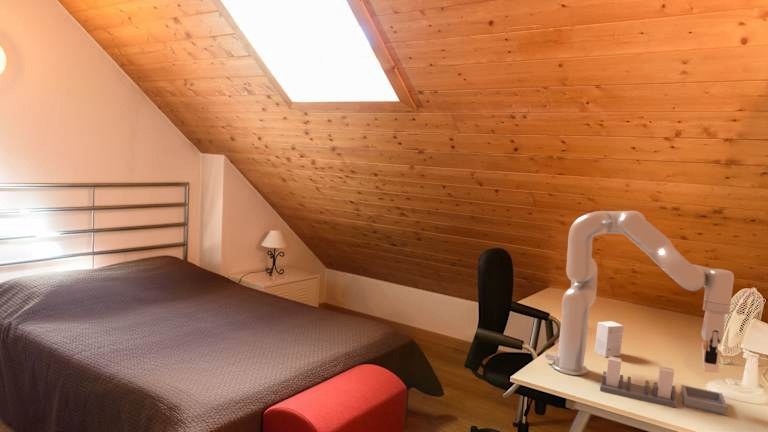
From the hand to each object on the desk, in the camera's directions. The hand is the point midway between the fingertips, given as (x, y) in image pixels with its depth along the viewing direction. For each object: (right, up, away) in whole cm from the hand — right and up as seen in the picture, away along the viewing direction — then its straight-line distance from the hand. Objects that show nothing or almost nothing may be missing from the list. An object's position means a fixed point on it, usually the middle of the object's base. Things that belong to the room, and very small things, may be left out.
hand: (709, 360), depth 179 cm
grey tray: (-1, -15, +2) cm, 15 cm away
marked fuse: (0, -3, 0) cm, 3 cm away
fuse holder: (-21, -13, +6) cm, 26 cm away
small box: (-15, -10, +45) cm, 49 cm away
